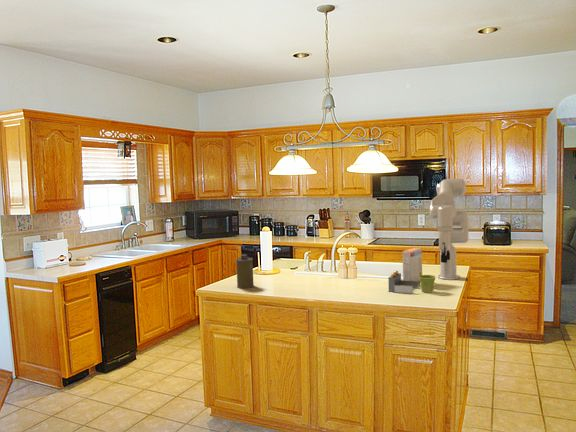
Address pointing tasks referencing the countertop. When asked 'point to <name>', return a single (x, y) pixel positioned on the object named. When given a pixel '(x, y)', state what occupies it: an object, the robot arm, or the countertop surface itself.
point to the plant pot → (427, 283)
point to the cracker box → (412, 264)
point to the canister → (244, 272)
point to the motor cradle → (401, 284)
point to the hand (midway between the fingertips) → (445, 260)
